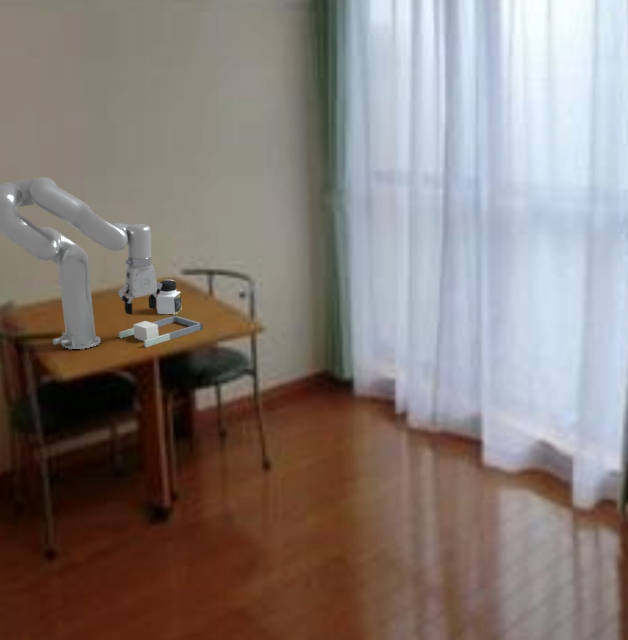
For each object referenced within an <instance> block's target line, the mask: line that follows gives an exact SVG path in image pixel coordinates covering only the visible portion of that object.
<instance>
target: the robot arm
mask: <svg viewBox="0 0 628 640" xmlns="http://www.w3.org/2000/svg"><path fill="white" fill-rule="evenodd" d="M34 205H36V206H37V207H39V208H40V209H42V210H44V211H46V212H47V213H50V214H51V215H53V216H54V217H56V218H58V219H60V220H61V221H63V222H65V223H67V225H69V226H71V227H72V228H74V229H75V230H77V231H78V232H80V233H82V234H83V235H84V236H85V237H87V238H89V239H90V240H92V241H93V242H95V243H97V244H99V245H100V246H103V247H104V248H106V249H108V250H109V251H110V250H111V251H114V252H118V251H119V252H120V251H122V250H124V249H125V248H126V246H127V253H128V254H127V255H128V256H127V259H126V260H125V264H126V265H127V266H126V271H125V276H124V277H125V280H124V285H123V286H122V287H121V288H120V289H118V291H117V294H118V295H119V298H120V299H121V300H122V302H123V303H124V311H125V314H126V315H129V316H130V315H131V316H132V315H133V313H134V312H133V303H132V301H133V300H134V299H135V298H141V297H146V296H148V307H149V309H152V310H157V299H156V298H157V297H158V294H160V293H161V292H160V289H161V287H162V283H160V282H161V281H157V275H156V270H155V265H154V264H152V230H151V229H152V228H151V226H149V225H148V224H145V223H135V224H129V223H128V224H127V223H121V222H108V221H106V220H105V219H103V218H102V217H100V216H99V215H97V214H96V213H95V212H94V211H93V210H92V209H91V208H90V206H89V205H88V204H87V203H85V202H84V201H83V200H82V199H80V198H78V197H77V196H74V195H73V194H71V193H69V192H68V191H66V190H64V189H63V188H60V186H58V185H57V183H56V182H55V180H53V179H51V178H50V177H47V176H39V177H33V178H29V179H23V180H22V179H21V180H17V181H16V180H15V181H10V182H6V183H2V184H0V234H2V235H3V236H4V237H5V238H7V239H9V240H10V241H11V242H13V243H15V244H16V245H17V246H19V247H20V248H22V249H23V250H25V251H26V252H27V253H29V254H30V255H32V256H33V257H34V258H35V259H38V260H39V261H43V262H50V261H51V262H52V263H54V265H57V274H58V275H57V276H58V281H59V287H60V295H61V297H60V298H61V303H62V305H61V307H62V312H63V313H62V314H63V322H64V331H65V332H62V335H61V336H60V337H57V338H56V337H55V338H52V344H53V345H58V344H61V345H62V348H64V347H65V349H66V348H68V349H67V350H72V349H80V350H86V349H85V348H87V349H91V348H90V347H92V348H94V347H97V346H99V345H100V344H101V337H100V336H99V335H96V329H95V328H96V327H95V319H94V310H93V307H94V306H93V298H92V290H91V281H90V268H89V267H90V264H89V260H90V259H89V255H88V254H87V252H86V250H85V249H83V248H82V247H81V246H80V245H79V244H77V243H75V242H74V241H72V240H71V239H69V238H68V237H66V236H65V235H64V234H63V233H61V232H59V231H58V230H57V229H54V228H52V227H49V226H48V227H47V226H43V227H40V226H38V225H37V224H36V223H34V222H32V221H31V220H30V219H29V218H26V217H24V216H23V215H21V214H20V212H19V210H18V209H19V208H23V207H29V206H34ZM99 343H100V344H99ZM96 345H97V346H96ZM93 346H94V347H93Z"/></svg>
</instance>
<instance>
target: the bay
mask: <svg viewBox="0 0 628 640" xmlns="http://www.w3.org/2000/svg"><path fill="white" fill-rule="evenodd" d="M173 322H174V323H177V322H178V323H177V324H180V323H181V325H185V326H187V327H184V328H180V329H178V330H175V331H171V332H168V333H164V334H162V335H159V336H158V337H155V338H152V339H148V340H145V341H143V346H144V347H145V348H148V347H151V346H155V345H158V344H160V343H164V342H168V341H170V340H173V339H176V338H180V337H183V336H186V335H189V334H192V333H195V332H198V331H202V330H204V327H203V323H201V322H199V321H194V320H192V319H188V318H185V317H182V316H178V315H177V314H176V315H171V316H169V317H165V318H163V319H158V320H155V321H152V322H151V323H154V324H157V325H158V328H160V327H163V325H164V326H166V324H167V325H170V324H173ZM131 336H134V327H131V328H128V329H126V330H121V331H119V332H118V337H120V338H119V339H124V338H127V337H131ZM123 337H124V338H123Z"/></svg>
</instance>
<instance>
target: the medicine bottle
mask: <svg viewBox="0 0 628 640" xmlns="http://www.w3.org/2000/svg"><path fill="white" fill-rule="evenodd" d="M159 282H160V283H162V287H161V289H160V292H159V294H158V297H157V298H156V310H157V311H156V312H157V314H158V315H169V314H173V315H172V316H175V314H176V315H177V314H178V313H179V312H180V311H182V309H183V306H182V293H181V291H179V290H178V289H177V281H175V280H173V279H164V280H161V281H159ZM177 290H178V291H177Z"/></svg>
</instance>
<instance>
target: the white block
mask: <svg viewBox="0 0 628 640" xmlns="http://www.w3.org/2000/svg"><path fill="white" fill-rule="evenodd" d="M132 328H134V335H133V336H134V339H136V338H137V339H136V340H139V341H143V342H144V341H145V340H148V339H152V338H155V337H158V336H160V335H159V327H158V325H157V324H154V323H152V322H151V321H147V320H144V321H140V322H137V323H134V324H133V327H132Z"/></svg>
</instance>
